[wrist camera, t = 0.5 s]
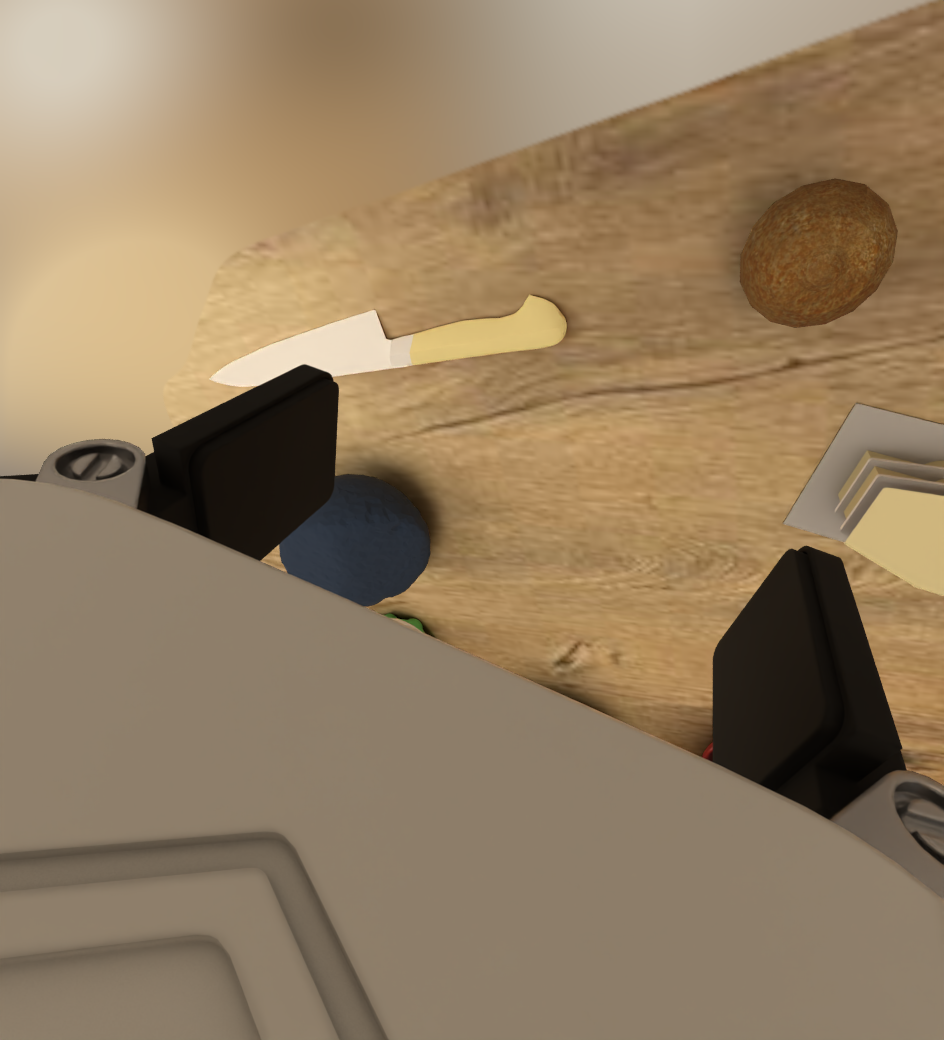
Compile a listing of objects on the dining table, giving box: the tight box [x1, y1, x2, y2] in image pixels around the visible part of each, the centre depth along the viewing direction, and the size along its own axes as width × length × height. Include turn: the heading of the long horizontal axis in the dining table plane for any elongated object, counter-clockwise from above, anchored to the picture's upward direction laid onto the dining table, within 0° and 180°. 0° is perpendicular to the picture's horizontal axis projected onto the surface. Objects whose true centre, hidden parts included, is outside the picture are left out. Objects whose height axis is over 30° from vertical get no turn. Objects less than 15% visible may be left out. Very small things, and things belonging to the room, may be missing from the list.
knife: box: [210, 295, 567, 387], centre depth 41 cm, size 1×33×4 cm
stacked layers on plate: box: [783, 403, 944, 595], centre depth 31 cm, size 10×9×6 cm
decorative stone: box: [279, 474, 430, 606], centre depth 46 cm, size 12×12×10 cm
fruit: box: [740, 179, 898, 328], centre depth 25 cm, size 6×6×8 cm
